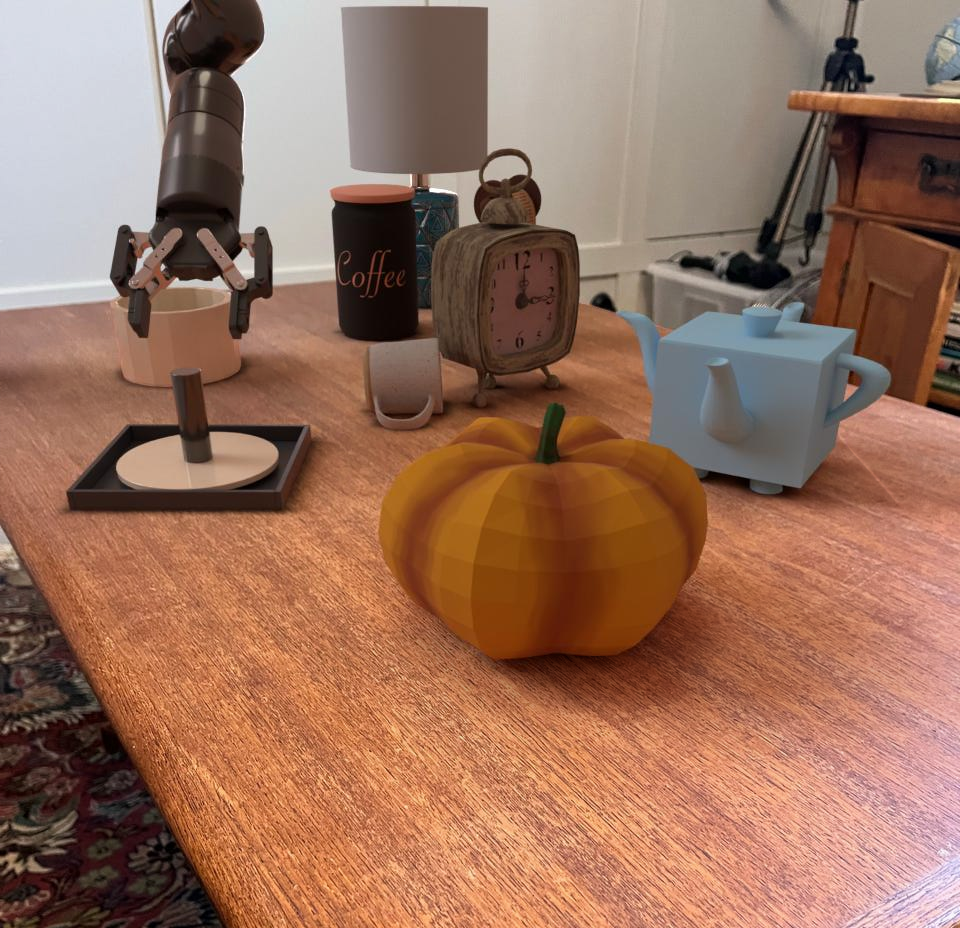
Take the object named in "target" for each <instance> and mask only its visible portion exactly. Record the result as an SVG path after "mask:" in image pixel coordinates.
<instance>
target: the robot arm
mask: <svg viewBox="0 0 960 928" xmlns="http://www.w3.org/2000/svg"><path fill="white" fill-rule="evenodd" d="M265 38H266V25H265V20H264V16H263V12H262V10H261V7H260V5H259V3H258V1H257V0H188V1H187V2H186V3H184V4H183V6H182V7H181V8H180V9H179V10H178V11H177V12H176V13H175V14H174V15H173V16H172V18H171V19H170V21H169V22H168V23H167V26H166V28H165V32H164V35H163V39H162V45H161V46H162V47H161V48H162V49H161V55H162V62H163V67H164V72H165V77H166V83H167V88H168V92H169V96H170V97H169V102H168V103H169V104H168V112H167V113H168V114H167V122H166V123H167V124H166V131H165V136H164V139H163V142H162V148H161V155H160V157H161V158H160V164H159V165H160V166H159V167H160V168H159V174H158V176H159V178H158V186H157V195H156V203H155V205H156V206H155V222H154V224H153V226H152V228H151V229H150V230H149V231H148V232H147V231H145V232H144V231H133V230H132V227H131V226H130V225H128V224H122V225H120V226H119V227H118V228H117V233H116V239H115V244H114V250H113V255H112V260H111V261H112V262H111V268H110V273H109V279H110V281H111V283H112V284H113V286H114V288H115V289H116V292H117V293H118V295H119V296H122V297H130V298H129V307H128V308H129V309H128V317H127V319H128V322H129V324H130V326H131V328H132V329H133V331H134V332H136V334H137V335H138V337H139V338H148V335H149V325H150V315H151V302H150V300H151V299H152V298H153V297H154V296H155V295H156V294H157V293H158V292H159V291H160V290H161V289H166V288H167V287H170V285H171V284H172V283H173V282H174V281H175V280H176V279H178V281H179V282H189V281H194V280H199V281H203V282H213V281H214V279H215V278H218V277H219V278H220V279H221V280H222V281H223V283H224V284H225V286H227V288H228V289H229V290H230V294H231V299H230V312H229V331H230V334H231V336H232V338H233V339H238V340H242V338H243V334H247V333H248V331H249V329H250V322H251V321H250V320H251V318H250V317H251V307H252V306H251V305H252V303H253V302H254V301H255V300H257V299H260V298H262V299H264V300H268V299H270V298H272V297H273V294H274V259H273V258H274V255H273V254H274V251H273V250H274V248H273V244H272V239H271V237H270V234H269V231H268V229H267V227H265V226H263V225H260V226H259V225H258V226H257V227H256V228H255V229H254V231H253V232H244V233H241V232H240V224H241V223H240V222H241V211H242V199H243V195H242V194H243V188H244V185H245V175H244V172H245V170H244V168H245V161H244V136H245V135H244V134H245V133H244V132H245V121H246V103H245V96H244V94H243V91H242V89H241V87H240V85H239V83H238V82H237V80H235V79H234V78H233V77H232V76H233V75H234V74H235V73H236V72H237V71H238V70H240V68H242V67H243V66H244V64H246V62H248V61H249V60H251V58H252V57H254V56H255V55H256V54H257V53H258V52H259V50H261V48H262V46H263V44H264V42H265ZM149 248H151V249H152V251H151V252H150V253H149V255H147V256H146V258H144V260H143V263H142V266H141V268H140V269H139V270H138V271H137V272H136V270H137V264H138V259H139V260H140V259H142V258H143V255H144V253H145V251H146V250H147V249H149ZM244 249H246V250H247V251H248V253H249V257H251V258H252V259H253V269H254V270H253V277H250V278H245V277H244V276H243V274H242V273H241V272H240V270H239V269H238V268H237V267H236V266H237V265H236V264H235V262H234V261H235V260H236V258H237V257H238V256H239V255H240V254H241V252H243V250H244ZM162 265H163V266H164V268H163V269H162Z"/></svg>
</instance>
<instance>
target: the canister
mask: <svg viewBox="0 0 960 928" xmlns="http://www.w3.org/2000/svg"><path fill="white" fill-rule="evenodd" d="M129 298H130V297H122V296H120V295H117V296H116V297H115V298H113V299H112V300H110V301H109V307H110V313H111V318H112V323H113V324H112V325H113V330H114V334H115V341H116V345H117V351H118V356H119V363H120V367H121V372H122V376H123V378H124V379H125V380H127V381H128V382H130V383H133V384H136V385H141V386H146V387H147V386H148V387H157V388H158V387H159V388H162V387H163V388H172V381H171V375H170V372H171V371H172V370H174V369H177V368H183V367H194V368H198V369H200V370H201V375H202V382H203V385H205V384H210V383H214V382H218V381H221V380H224V379H227V378H229V377H231V376H233V375H235V374H237V373H238V372H239V371H240V370H241V367H242V358H241V351H240V342H239V341H240V340H239V339H233V338H232V336H231V334H230V331H229V312H230V299H231V292H229V291H226V290H223V289H219V288H214V287H204V286H168V287H167V288H166V289H161V290H160V291H159V292H158V293H157V294H156V295H155V296H154V297H153V298H152V299H151V300H150V302H151V315H150V325H149V335H148V338H139V337H138V335H137V334H136V332H134V331H133V329H132V328H131V326H130V324H129V322H128V319H127V317H128V309H129V308H128V307H129Z"/></svg>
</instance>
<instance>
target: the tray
mask: <svg viewBox="0 0 960 928" xmlns="http://www.w3.org/2000/svg"><path fill="white" fill-rule="evenodd" d="M208 424H209V431H210V432H231V433H240V434H247V435H252V436H256V437H259V438H262V439H265V440H267V441H269V442H270V443H272V444H273V445H274V446H275V447H276V448H277V450H278V452H279V463H278V465H277V467H276V468H275V469H274V470H273V471H272V472H271V473H270V474H268V475H267V476H265V477H263V478H262V479H260V480H258V481H255V482H253V483H250V484H248V485H245V486H241V487H238V488H234V489H230V490H137V489H134V488H131V487H129V486H127V485H126V484H124V483H123V482H122V481H121V480H120V479H119V478H118V476H117V471H116V465H117V462H118V460H119V459H120V458H121V457H122V456H123V455H124V454H125V453H127V452H128V451H130V450H132V449H133V448H135V447H138V446H140V445H142V444H145V443H148V442H151V441H154V440H157V439H161V438H165V437H170V436H175V435H180V432H179V426H178V423H176V424H175V423H174V424H173V423H171V424H167V423H166V424H165V423H163V424H160V423H158V424H157V423H154V424H153V423H152V424H147V423H146V424H145V423H143V424H142V423H141V424H140V423H139V424H138V423H137V424H136V423H133V424H131V423H128V424H125V426H124V427H123V428H122V429H121V430H120V431H119V432H118V434H116V436H115V437H114V438H113V439H112V440H111V441H110V442H109V444H108V445H106V447H105V448H104V449H103V450H102V451H101V452H100V453H99V455H97V456H96V457H95V459H94V460H93V461H92V462H91V463H90V464H89V466H87V468H86V469H85V470H84V471H83V472H82V473H81V474H80V475H79V477H78V478H77V479H76V480H74V482H73V483H72V484H71V485H70V487H69V488H67V490H66V491H65V493H66V494H65V495H66V498H67V503H68V507H69V511H260V512H262V511H265V512H266V511H270V512H271V511H274V512H276V511H277V512H279V511H281V512H282V511H284V509H285V506H286V503H287V501H288V498H289V496H290V494H291V491H292V489H293V486H294V485H295V482H296V479H297V477H298V475H299V472H300V470H301V468H302V466H303V463H304V461H305V458H306V456H307V453H308V451H309V449H310V446H311V444H312V430H311V424H219V423H217V424H215V423H214V424H212V423H211V424H210V423H208Z"/></svg>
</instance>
